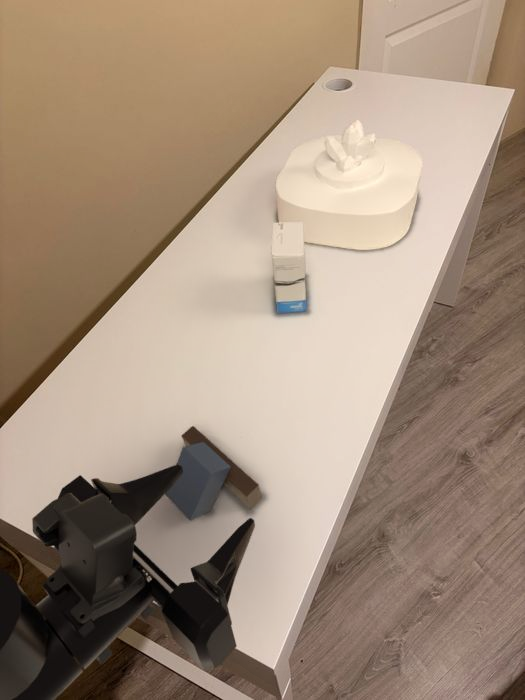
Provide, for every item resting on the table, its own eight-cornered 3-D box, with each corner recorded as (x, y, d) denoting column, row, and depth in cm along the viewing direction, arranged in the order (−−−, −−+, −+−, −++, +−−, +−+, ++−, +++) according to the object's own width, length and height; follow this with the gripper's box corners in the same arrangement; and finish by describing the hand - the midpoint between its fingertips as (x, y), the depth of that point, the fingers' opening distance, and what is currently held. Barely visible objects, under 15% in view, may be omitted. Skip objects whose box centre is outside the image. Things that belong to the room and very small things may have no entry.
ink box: (307, 312, 80) (305, 256, 70) (276, 314, 80) (270, 257, 71) (305, 276, 85) (303, 219, 76) (276, 278, 85) (271, 221, 76)
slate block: (193, 527, 59) (180, 502, 53) (167, 500, 62) (153, 473, 56) (236, 486, 62) (228, 457, 56) (210, 461, 65) (200, 432, 59)
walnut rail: (250, 510, 60) (246, 496, 57) (187, 450, 66) (180, 435, 63) (261, 498, 61) (258, 484, 58) (198, 440, 67) (192, 425, 64)
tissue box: (303, 164, 107) (301, 87, 95) (422, 177, 100) (436, 95, 88) (266, 236, 93) (257, 156, 80) (401, 256, 86) (415, 172, 73)
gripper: (102, 693, 25) (293, 491, 34) (-44, 500, 36) (131, 384, 44) (149, 756, 32) (299, 574, 41) (15, 578, 43) (157, 464, 51)
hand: (215, 493), depth 44 cm, fingers open, 9 cm apart
